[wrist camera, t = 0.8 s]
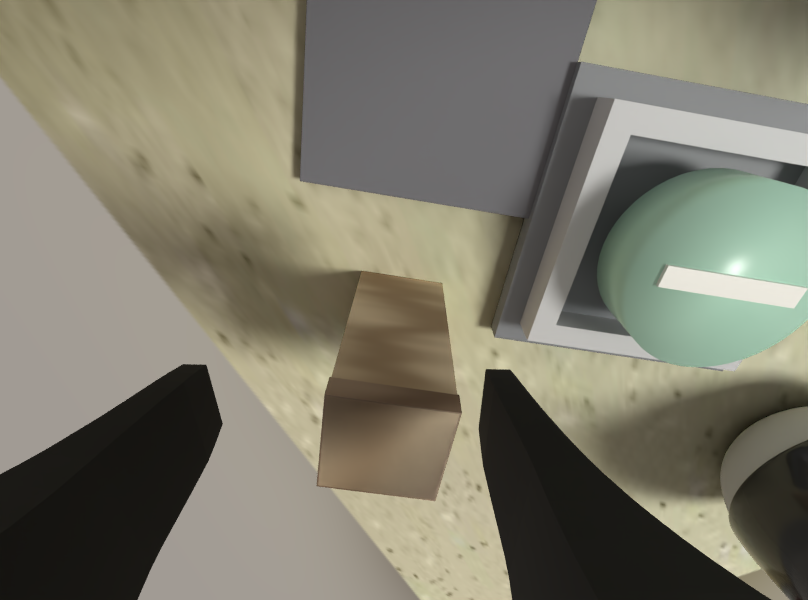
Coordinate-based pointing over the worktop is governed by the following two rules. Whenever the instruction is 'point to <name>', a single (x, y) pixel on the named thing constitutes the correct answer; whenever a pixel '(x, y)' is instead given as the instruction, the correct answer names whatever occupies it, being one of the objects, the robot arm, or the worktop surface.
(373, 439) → the wooden rectangular block
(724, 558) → the worktop surface
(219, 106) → the worktop surface
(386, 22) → the mat
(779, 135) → the switch panel
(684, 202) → the button
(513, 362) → the worktop surface
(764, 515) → the pump dispenser
